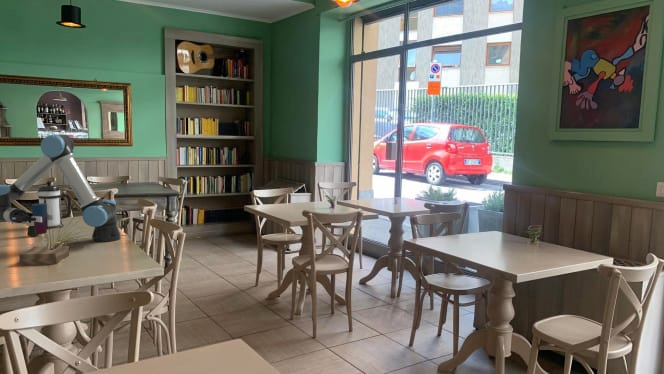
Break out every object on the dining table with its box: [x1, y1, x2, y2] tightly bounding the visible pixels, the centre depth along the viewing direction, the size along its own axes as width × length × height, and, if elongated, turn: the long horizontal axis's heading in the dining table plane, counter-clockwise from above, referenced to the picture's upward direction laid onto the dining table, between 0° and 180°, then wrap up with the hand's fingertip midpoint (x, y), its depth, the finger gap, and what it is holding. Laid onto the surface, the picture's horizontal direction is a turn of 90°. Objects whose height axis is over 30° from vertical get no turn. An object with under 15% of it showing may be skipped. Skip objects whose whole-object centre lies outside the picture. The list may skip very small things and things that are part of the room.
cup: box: [31, 203, 48, 235], centre depth 261 cm, size 7×7×15 cm
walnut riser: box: [18, 245, 70, 266], centre depth 245 cm, size 16×16×5 cm
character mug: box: [21, 221, 40, 237], centre depth 299 cm, size 11×7×13 cm, turn 118°
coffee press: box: [35, 180, 72, 230], centre depth 327 cm, size 17×16×30 cm
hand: (47, 218), depth 259 cm, fingers closed on cup, 6 cm apart
